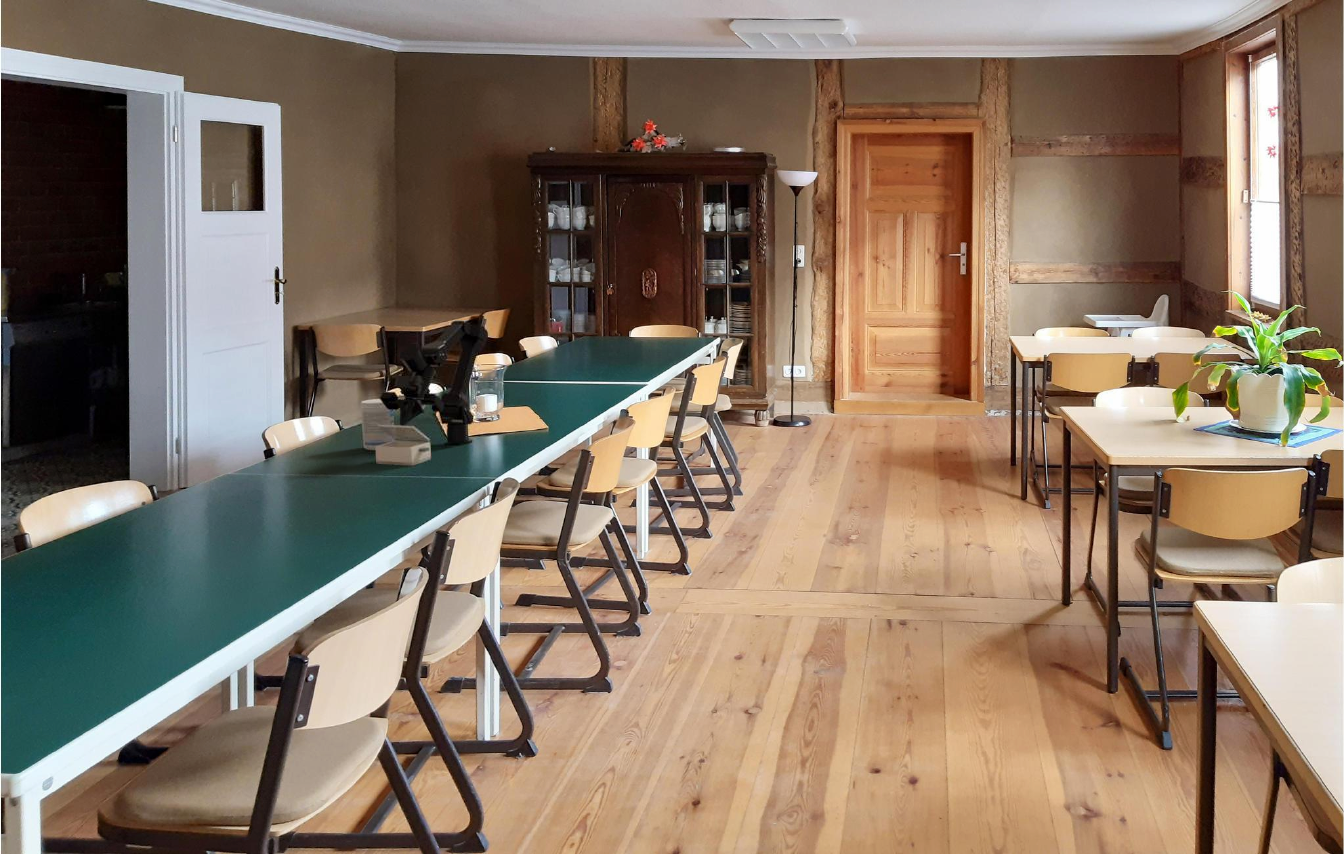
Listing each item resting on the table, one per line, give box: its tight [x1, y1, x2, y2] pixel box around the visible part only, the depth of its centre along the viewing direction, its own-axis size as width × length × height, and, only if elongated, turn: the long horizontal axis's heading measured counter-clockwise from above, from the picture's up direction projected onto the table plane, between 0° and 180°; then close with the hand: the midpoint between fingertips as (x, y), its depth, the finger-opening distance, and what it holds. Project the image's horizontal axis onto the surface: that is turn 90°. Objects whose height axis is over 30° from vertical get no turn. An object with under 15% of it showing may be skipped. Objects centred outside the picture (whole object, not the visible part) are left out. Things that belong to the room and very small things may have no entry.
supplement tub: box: [360, 398, 396, 451], centre depth 383 cm, size 10×10×15 cm
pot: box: [375, 440, 432, 467], centre depth 362 cm, size 10×16×5 cm, turn 69°
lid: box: [378, 424, 431, 443], centre depth 362 cm, size 10×12×2 cm
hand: (401, 424), depth 360 cm, fingers closed
